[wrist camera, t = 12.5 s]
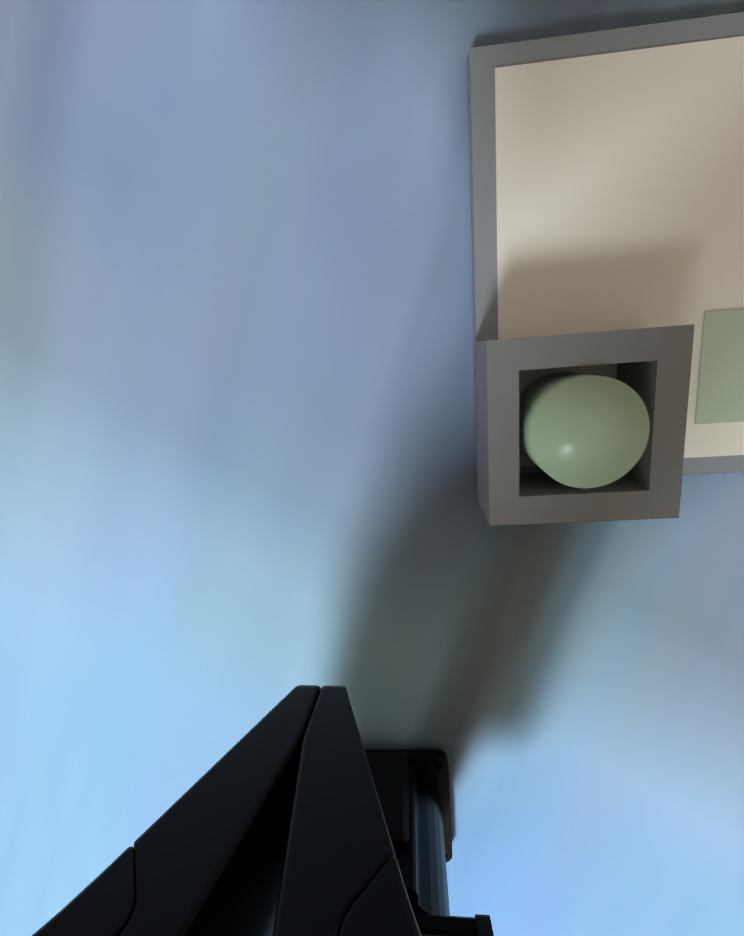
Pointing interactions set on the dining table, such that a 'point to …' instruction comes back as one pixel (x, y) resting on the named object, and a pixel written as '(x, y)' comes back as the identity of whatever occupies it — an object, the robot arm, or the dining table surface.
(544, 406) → the button
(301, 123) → the dining table surface
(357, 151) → the dining table surface
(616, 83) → the square board tray
